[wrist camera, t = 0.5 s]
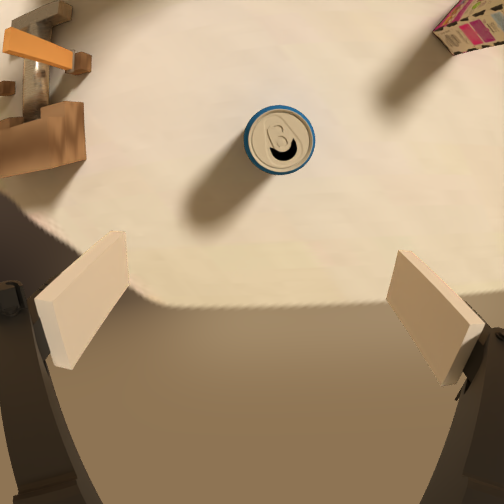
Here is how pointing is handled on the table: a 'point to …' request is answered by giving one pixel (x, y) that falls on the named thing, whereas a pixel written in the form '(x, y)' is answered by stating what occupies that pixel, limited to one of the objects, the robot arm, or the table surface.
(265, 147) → the beverage can
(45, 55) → the bar
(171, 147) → the table surface
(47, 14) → the pin
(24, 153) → the hitch block
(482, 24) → the candy bar box
